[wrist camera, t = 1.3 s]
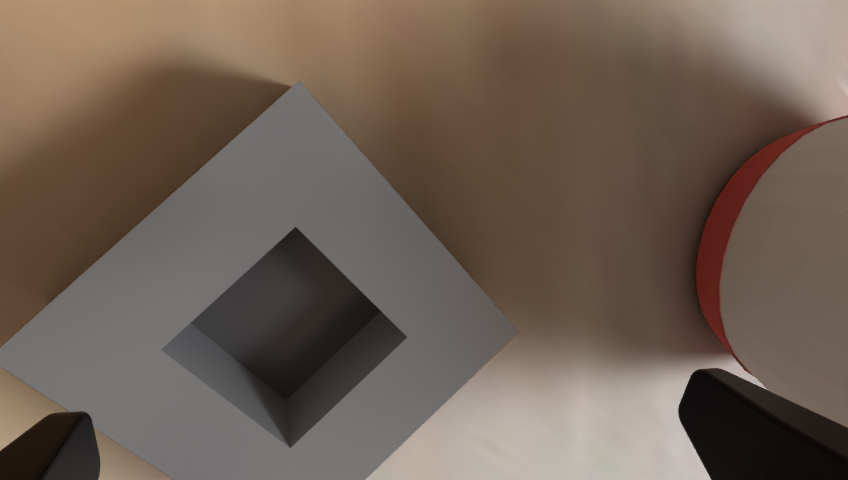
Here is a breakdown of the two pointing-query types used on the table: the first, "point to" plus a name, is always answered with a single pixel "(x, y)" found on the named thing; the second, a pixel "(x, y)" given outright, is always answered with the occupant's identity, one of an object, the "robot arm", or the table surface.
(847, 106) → the table surface
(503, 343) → the socket block
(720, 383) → the robot arm
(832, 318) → the citrus juicer
